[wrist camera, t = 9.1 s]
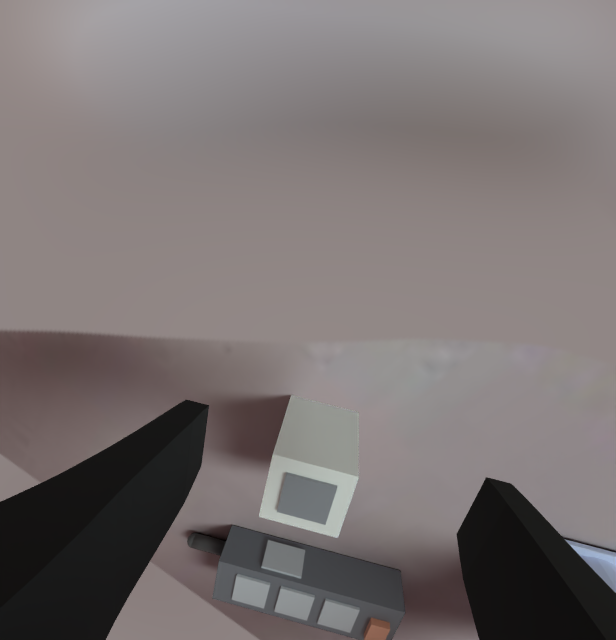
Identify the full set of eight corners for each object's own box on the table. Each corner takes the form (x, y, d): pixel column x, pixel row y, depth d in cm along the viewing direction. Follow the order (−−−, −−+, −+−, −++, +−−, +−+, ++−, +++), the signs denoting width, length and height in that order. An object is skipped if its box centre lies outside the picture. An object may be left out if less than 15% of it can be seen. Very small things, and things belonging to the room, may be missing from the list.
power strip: (401, 569, 25) (407, 618, 22) (384, 604, 26) (388, 655, 23) (193, 512, 25) (172, 553, 22) (188, 550, 27) (168, 593, 24)
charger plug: (358, 411, 21) (358, 479, 16) (341, 466, 22) (336, 543, 18) (291, 394, 21) (272, 456, 16) (278, 449, 22) (257, 521, 18)
